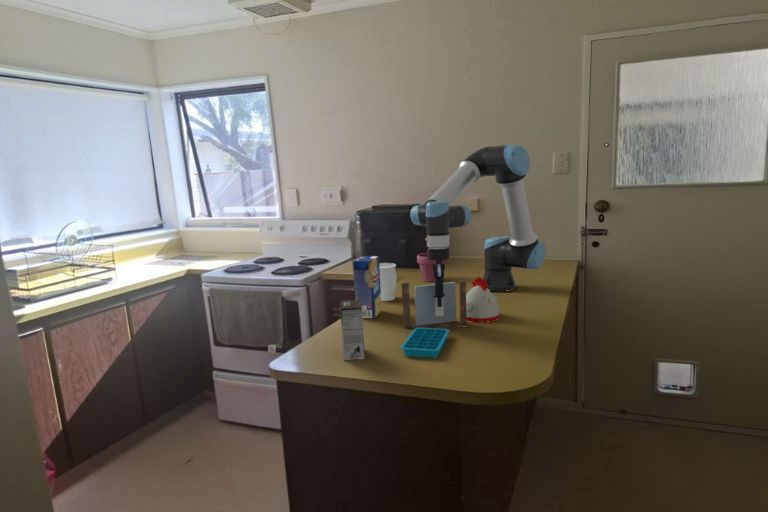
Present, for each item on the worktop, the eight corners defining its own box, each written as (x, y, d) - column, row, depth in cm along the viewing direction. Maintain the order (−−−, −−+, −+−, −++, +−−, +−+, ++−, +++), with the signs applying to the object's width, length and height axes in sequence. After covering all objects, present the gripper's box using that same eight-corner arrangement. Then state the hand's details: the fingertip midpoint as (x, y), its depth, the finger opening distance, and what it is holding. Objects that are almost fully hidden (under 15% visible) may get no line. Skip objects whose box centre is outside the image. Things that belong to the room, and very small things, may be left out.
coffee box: (343, 350, 158) (340, 300, 156) (363, 348, 159) (361, 298, 156) (343, 361, 149) (340, 308, 147) (365, 359, 150) (362, 306, 147)
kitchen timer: (476, 325, 177) (475, 283, 174) (453, 316, 189) (452, 276, 187) (507, 318, 183) (507, 277, 181) (483, 309, 195) (482, 271, 193)
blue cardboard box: (381, 310, 200) (378, 256, 197) (373, 319, 190) (370, 261, 186) (365, 310, 202) (362, 256, 198) (356, 318, 192) (352, 261, 188)
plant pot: (439, 275, 259) (438, 251, 257) (451, 281, 246) (451, 255, 244) (413, 279, 255) (412, 254, 253) (424, 284, 242) (423, 258, 239)
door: (453, 318, 184) (452, 280, 182) (456, 320, 182) (455, 282, 179) (414, 323, 180) (412, 285, 178) (416, 325, 178) (415, 287, 175)
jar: (395, 302, 212) (393, 267, 209) (371, 302, 214) (369, 267, 212) (399, 296, 222) (397, 262, 220) (376, 296, 224) (374, 262, 222)
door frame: (465, 323, 179) (465, 279, 176) (467, 327, 175) (466, 282, 172) (403, 325, 180) (402, 281, 178) (403, 328, 177) (401, 284, 174)
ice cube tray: (399, 358, 151) (399, 348, 150) (415, 336, 170) (415, 327, 169) (438, 360, 147) (438, 350, 147) (450, 337, 166) (449, 329, 166)
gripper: (426, 245, 178) (428, 311, 181) (427, 250, 165) (429, 320, 168) (448, 244, 177) (449, 310, 181) (450, 249, 165) (451, 320, 168)
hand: (439, 315), depth 174 cm, fingers closed
